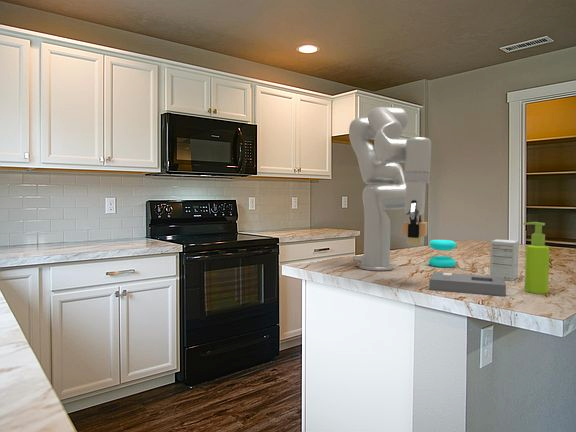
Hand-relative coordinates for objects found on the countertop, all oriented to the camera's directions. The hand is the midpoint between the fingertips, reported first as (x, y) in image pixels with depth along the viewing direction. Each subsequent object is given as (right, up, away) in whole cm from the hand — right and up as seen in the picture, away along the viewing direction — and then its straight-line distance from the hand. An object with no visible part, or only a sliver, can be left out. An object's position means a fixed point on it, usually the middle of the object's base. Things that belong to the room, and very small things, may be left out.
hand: (414, 235), depth 137 cm
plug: (0, -3, 0) cm, 3 cm away
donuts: (+21, -14, +37) cm, 44 cm away
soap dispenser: (+32, -16, -9) cm, 37 cm away
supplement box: (+33, -15, +12) cm, 38 cm away
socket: (+14, -15, -6) cm, 21 cm away
